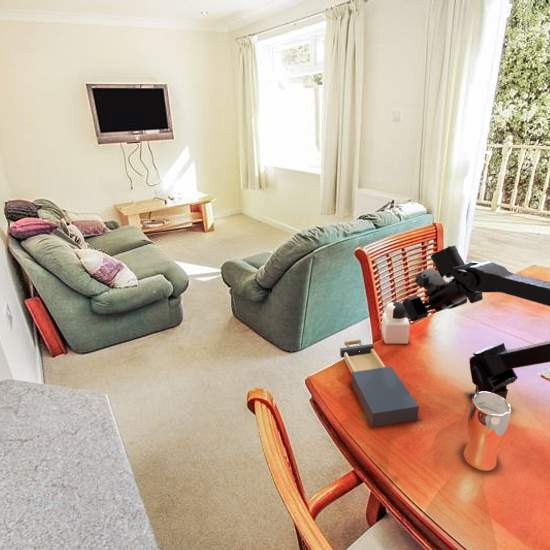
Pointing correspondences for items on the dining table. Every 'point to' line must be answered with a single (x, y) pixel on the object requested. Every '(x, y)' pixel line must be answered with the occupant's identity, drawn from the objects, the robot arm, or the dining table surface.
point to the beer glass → (486, 429)
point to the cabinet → (384, 396)
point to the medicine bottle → (395, 324)
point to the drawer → (360, 356)
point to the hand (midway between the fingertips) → (417, 311)
